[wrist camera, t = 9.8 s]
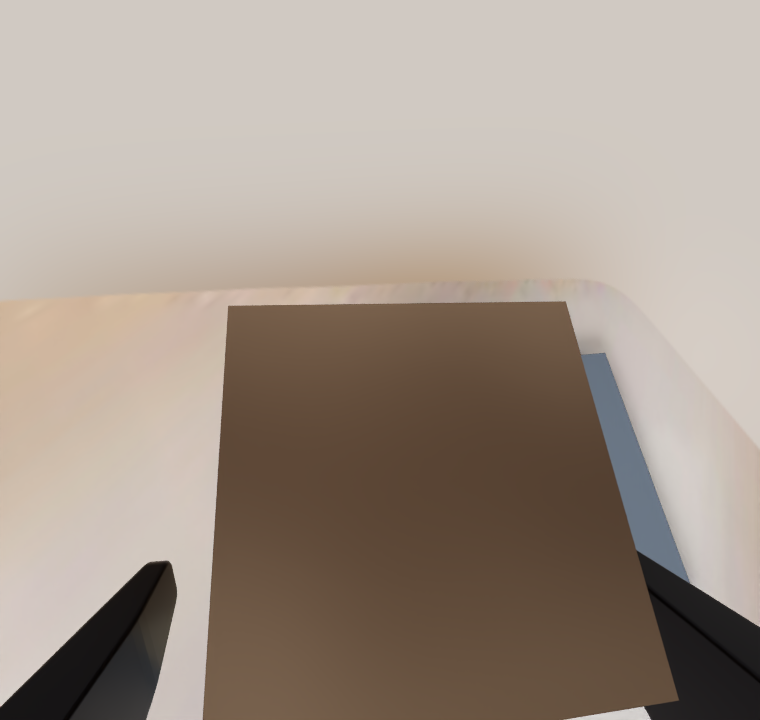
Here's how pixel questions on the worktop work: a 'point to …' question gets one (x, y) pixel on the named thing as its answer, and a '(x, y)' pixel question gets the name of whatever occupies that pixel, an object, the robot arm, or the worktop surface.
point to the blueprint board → (631, 469)
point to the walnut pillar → (420, 522)
